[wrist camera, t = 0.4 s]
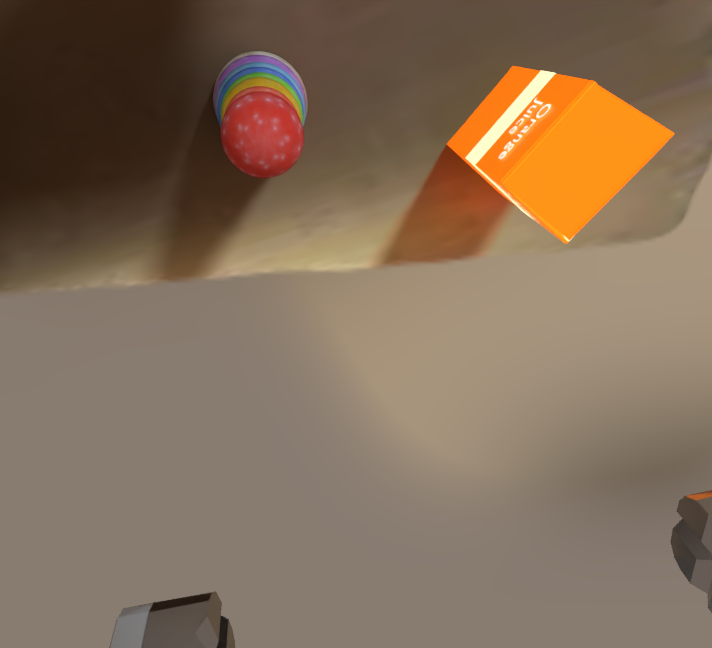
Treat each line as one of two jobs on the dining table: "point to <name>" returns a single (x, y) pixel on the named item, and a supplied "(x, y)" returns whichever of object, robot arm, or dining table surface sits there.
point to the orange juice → (557, 146)
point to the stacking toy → (260, 113)
